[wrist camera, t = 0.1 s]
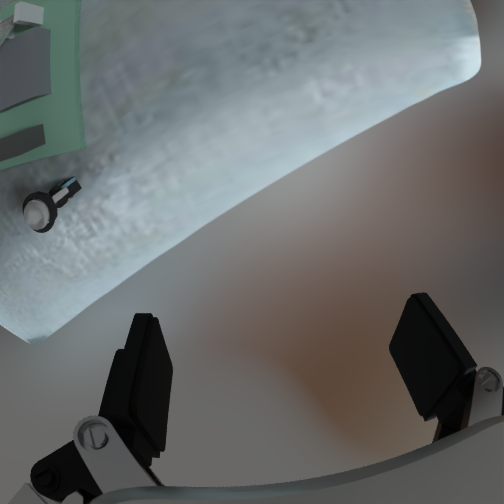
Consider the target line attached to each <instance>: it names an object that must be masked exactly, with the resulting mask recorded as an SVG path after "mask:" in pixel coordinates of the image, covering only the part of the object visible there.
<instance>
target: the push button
mask: <svg viewBox="0 0 504 504" xmlns="http://www.w3.org/2000/svg"><path fill="white" fill-rule="evenodd" d="M62 182H63V181H62ZM62 182H61V183H59V184H58V185H57V186H55V187H54V188H52V189H51V190H50V191H49V194H48V193H43V192H36V193H32V194H30V195H29V196H27V197H26V199H25V200H24V203H23V216H24V219H25V222H26V224H27V225H28V226H29V227H30V228H32V229H33V230H34V231H36V232H40V233H44V232H47V231H49V230H50V229H51V228H52V226H53V224H54V221H55V219H56V217H57V208H61V207H62V206H63V205H65V204H66V203H67V202H68V201H69V200H70V199H71V198H70V197H71V196H73V195H74V194H75V193H76V192H78V191H79V190H80V189H81V186H80V185H79V183H78V182H77V180H76V178H75V177H74V178H72V179H71V180H70V181H68V182H67V183H66V184H64V183H62ZM73 197H74V196H73ZM73 197H72V198H73ZM33 198H36V199H34V200H33ZM49 221H50V222H49ZM48 222H49V223H48Z"/></svg>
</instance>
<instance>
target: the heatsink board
mask: <svg viewBox="0 0 504 504" xmlns="http://www.w3.org/2000/svg"><path fill="white" fill-rule="evenodd" d="M80 5H81V0H15V1H13V2H12V3H10V4H8V5H7V6H5V7H3V8H2V9H0V22H2V21H4V20H5V19H7V18H9V17H11V16H12V15H14V20H13V23H16V24H15V25H14V27H13V28H12V30H11V31H10V33H9V34H8V35H7V37H6V38H5V40H4V42H3V43H2V45H1V46H0V170H3V169H6V168H9V167H13V166H16V165H20V164H23V163H27V162H30V161H34V160H38V159H42V158H46V157H50V156H54V155H59V154H63V153H68V152H72V151H77V150H81V149H83V148H85V147H86V145H85V137H84V129H83V120H82V109H81V97H80V79H79V21H80Z"/></svg>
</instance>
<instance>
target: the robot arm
mask: <svg viewBox="0 0 504 504" xmlns="http://www.w3.org/2000/svg"><path fill="white" fill-rule="evenodd" d="M389 351H390V353H391V355H392V357H393V359H394V361H395V363H396V366H397V368H398V370H399V372H400V374H401V376H402V378H403V380H404V382H405V384H406V386H407V388H408V391H409V393H410V395H411V397H412V400H413V402H414V404H415V406H416V409H417V411H418V413H419V415H420V416H423V418H424V421H428V420H431V419H433V418H435V417H436V416H437V418H438V420H439V421H438V425H437V428H436V431H435V435H434V438H433V441H432V443H431V444H429V445H426V446H424V447H421V448H419V449H416V450H413V451H411V452H408V453H405V454H403V455H399V456H397V457H394V458H391V459H387V460H384V461H381V462H378V463H375V464H371V465H367V466H364V467H360V468H357V469H352V470H348V471H344V472H340V473H335V474H331V475H326V476H321V477H315V478H309V479H304V480H297V481H290V482H283V483H274V484H265V485H250V486H232V487H231V486H230V487H175V486H173V487H172V486H164V484H163V483H162V482H161V481H160V479H159V478H158V477H157V476H156V475H155V473H154V472H153V471H152V470H151V468H150V466H151V463H152V457H154V458H160V451H161V452H164V450H165V445H166V433H167V422H168V411H169V402H170V392H171V384H172V375H173V367H172V363H171V359H170V356H169V353H168V350H167V347H166V344H165V340H164V337H163V334H162V331H161V327H160V324H159V320H158V318H157V317H153V315H152V314H151V313H136V314H135V315H134V318H133V321H132V324H131V328H130V331H129V334H128V338H127V341H126V344H125V348H124V349H118V350H117V351H116V353H115V356H114V359H113V363H112V366H111V369H110V373H109V377H108V380H107V384H106V387H105V391H104V395H103V399H102V403H101V406H100V411H99V415H98V416H89V417H86V418H84V419H82V420H81V421H80V422H79V423H78V424H77V426H76V427H75V430H74V435H73V439H74V440H72V441H71V442H69V443H67V444H66V445H64V446H63V447H61V448H59V449H58V450H56V451H55V452H53V453H51V454H50V455H48V456H46V457H45V458H43V459H41V460H39V461H38V462H37V463H36V464H34V466H33V467H32V469H31V474H30V477H31V482H30V483H29V484H28V483H25V484H24V485H23V486H22V487H21V489H20V490H19V491H18V492H17V494H16V495H15V496H14V497H13V498H12V500H11V501H10V502H9V503H8V504H504V387H503V381H502V378H501V376H500V375H499V373H498V372H497V371H496V370H494V369H493V368H490V367H482V368H480V369H479V370H478V371H476V370H475V368H476V367H477V364H476V363H475V361H474V359H473V358H472V356H471V355H470V353H469V352H468V350H467V349H466V347H465V346H464V344H463V343H462V341H461V340H460V338H459V337H458V335H457V334H456V332H455V331H454V330H453V328H452V327H451V326H450V324H449V322H448V321H447V320H446V318H445V317H444V315H443V314H442V313H441V312H440V310H439V309H438V308H437V306H436V305H435V303H434V302H433V301H432V299H431V298H430V297H429V295H428V294H427V293H424V292H423V293H416V294H412V295H411V297H410V298H409V299H408V300H407V302H406V305H405V308H404V310H403V313H402V316H401V318H400V320H399V323H398V325H397V328H396V330H395V333H394V335H393V338H392V340H391V342H390V345H389Z"/></svg>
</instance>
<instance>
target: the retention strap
mask: <svg viewBox="0 0 504 504" xmlns="http://www.w3.org/2000/svg"><path fill="white" fill-rule="evenodd" d="M13 20H14V15H12V16H11V17H9V18H7V19H5V20H4V21H2V22H0V46H1V45H2V43H3V42H4V40H5V38H6V37H7V35H8V34H9V33H10V31H11V30H12V28H13V27H14V25H15V24H16V23H13Z"/></svg>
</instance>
